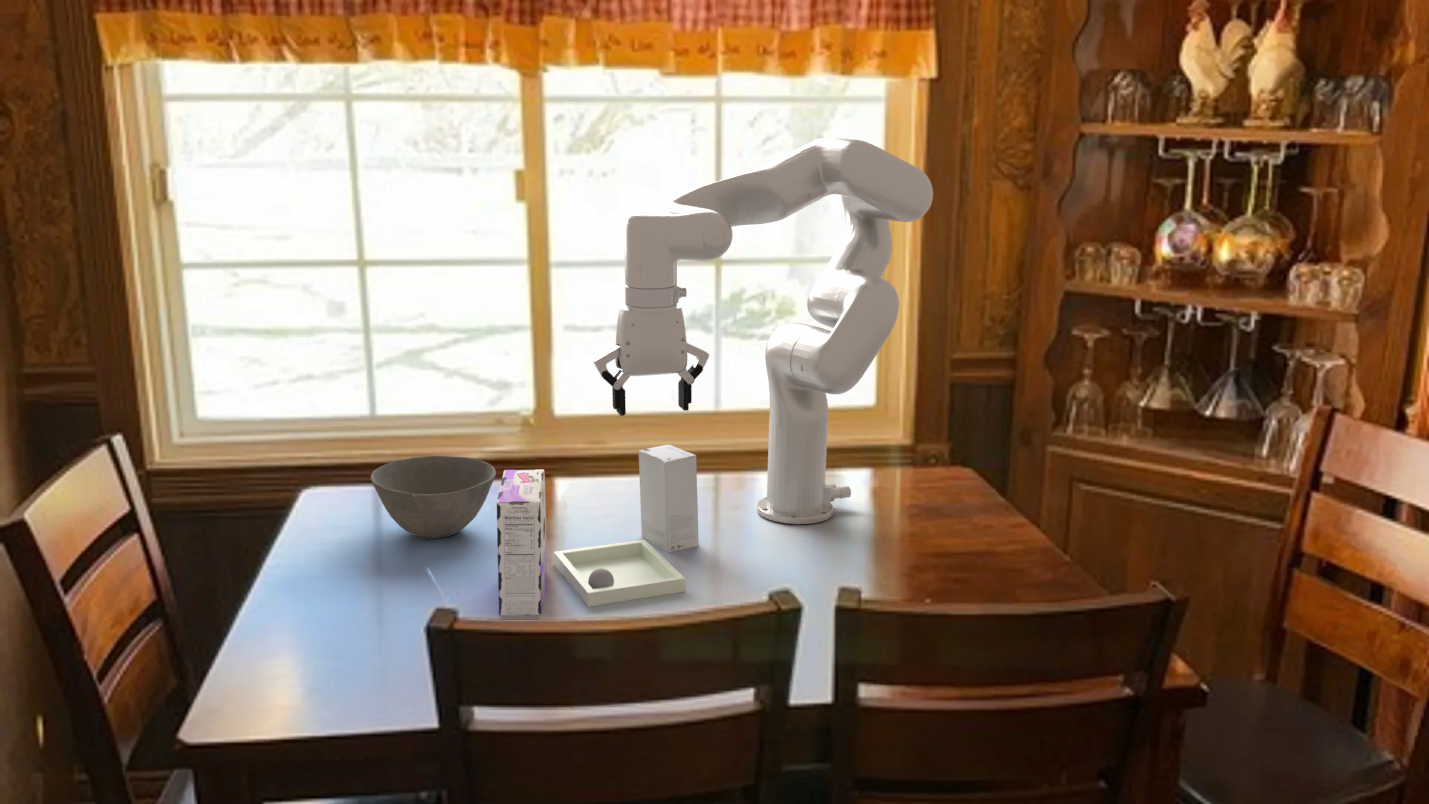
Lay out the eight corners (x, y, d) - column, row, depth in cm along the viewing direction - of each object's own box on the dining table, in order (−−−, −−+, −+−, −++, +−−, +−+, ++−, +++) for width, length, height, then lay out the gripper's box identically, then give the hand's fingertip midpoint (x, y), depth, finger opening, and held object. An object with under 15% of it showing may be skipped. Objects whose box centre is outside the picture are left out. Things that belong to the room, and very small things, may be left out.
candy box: (506, 579, 174) (503, 468, 170) (547, 578, 174) (546, 467, 170) (497, 619, 161) (494, 500, 156) (542, 619, 161) (541, 500, 157)
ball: (609, 586, 170) (609, 563, 169) (617, 596, 167) (617, 572, 166) (585, 590, 169) (584, 566, 168) (593, 599, 166) (592, 575, 165)
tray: (644, 555, 184) (644, 539, 183) (685, 595, 169) (685, 578, 169) (554, 567, 178) (553, 551, 177) (588, 610, 164) (588, 593, 163)
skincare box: (699, 549, 186) (701, 455, 183) (665, 556, 183) (666, 461, 179) (670, 532, 193) (671, 441, 189) (637, 539, 190) (637, 447, 186)
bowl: (370, 559, 180) (366, 495, 177) (377, 516, 198) (374, 457, 195) (499, 552, 184) (498, 488, 181) (495, 510, 201) (493, 452, 199)
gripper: (700, 290, 184) (700, 400, 189) (587, 296, 179) (590, 409, 184) (715, 298, 177) (715, 412, 182) (598, 305, 172) (600, 422, 177)
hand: (652, 410), depth 183 cm, fingers open, 9 cm apart
